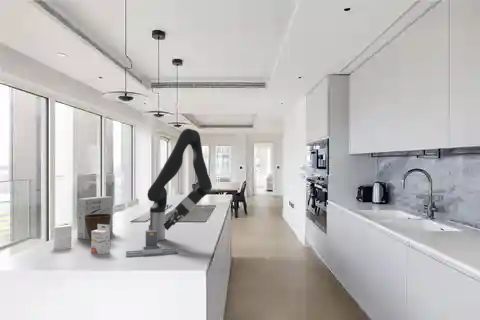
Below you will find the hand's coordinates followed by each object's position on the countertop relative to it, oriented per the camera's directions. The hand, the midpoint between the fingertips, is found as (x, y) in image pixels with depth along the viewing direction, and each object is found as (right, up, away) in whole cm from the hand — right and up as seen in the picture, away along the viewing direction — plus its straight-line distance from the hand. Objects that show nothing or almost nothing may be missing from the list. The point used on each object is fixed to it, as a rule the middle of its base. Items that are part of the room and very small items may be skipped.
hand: (165, 227), depth 197 cm
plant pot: (-44, -12, +16) cm, 48 cm away
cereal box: (-53, -12, +34) cm, 64 cm away
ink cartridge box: (-32, -12, -10) cm, 36 cm away
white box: (-58, -12, +1) cm, 59 cm away
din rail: (-5, -11, -11) cm, 17 cm away
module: (-7, -11, -2) cm, 14 cm away
